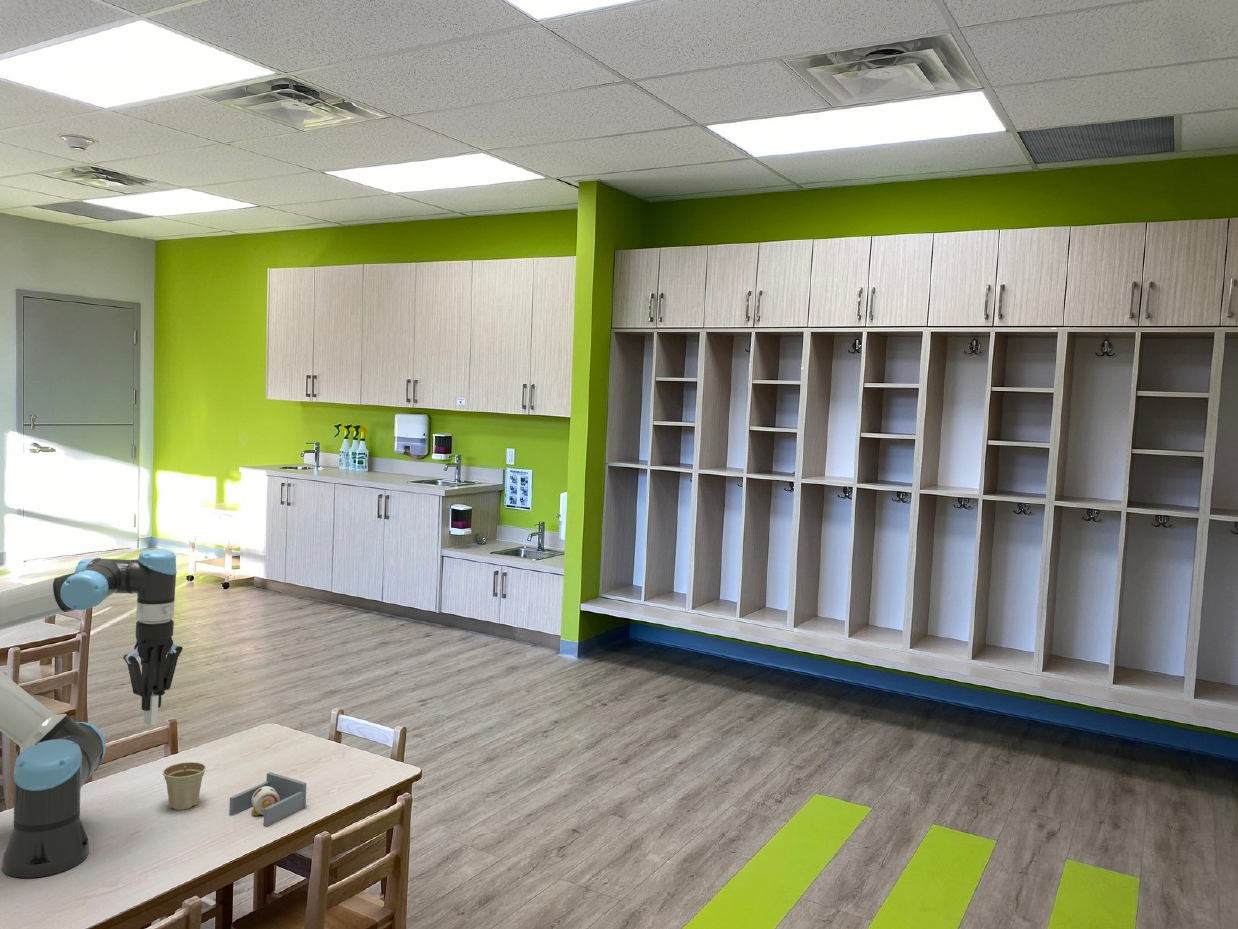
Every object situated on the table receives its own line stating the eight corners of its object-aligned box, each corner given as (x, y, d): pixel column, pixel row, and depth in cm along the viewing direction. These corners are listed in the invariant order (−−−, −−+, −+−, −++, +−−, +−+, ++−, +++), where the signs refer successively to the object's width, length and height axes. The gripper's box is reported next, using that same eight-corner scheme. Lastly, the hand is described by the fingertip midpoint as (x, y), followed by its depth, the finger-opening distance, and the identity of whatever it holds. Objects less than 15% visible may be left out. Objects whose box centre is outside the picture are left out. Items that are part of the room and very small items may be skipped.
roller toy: (281, 813, 213) (282, 790, 213) (253, 819, 210) (253, 795, 209) (276, 806, 217) (277, 783, 216) (248, 812, 213) (249, 788, 213)
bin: (266, 826, 206) (267, 801, 206) (229, 814, 211) (230, 789, 211) (305, 807, 217) (306, 783, 217) (269, 795, 222) (269, 772, 222)
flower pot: (155, 803, 215) (156, 767, 215) (196, 793, 222) (197, 758, 221) (169, 817, 208) (170, 780, 208) (211, 806, 215) (212, 770, 215)
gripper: (137, 627, 194) (132, 735, 195) (192, 618, 205) (187, 719, 206) (116, 621, 197) (112, 727, 198) (171, 612, 209) (166, 712, 210)
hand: (150, 723), depth 202 cm, fingers closed
